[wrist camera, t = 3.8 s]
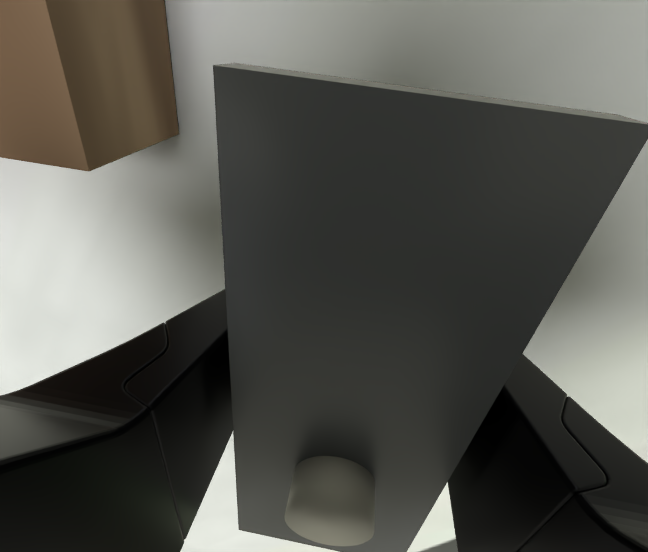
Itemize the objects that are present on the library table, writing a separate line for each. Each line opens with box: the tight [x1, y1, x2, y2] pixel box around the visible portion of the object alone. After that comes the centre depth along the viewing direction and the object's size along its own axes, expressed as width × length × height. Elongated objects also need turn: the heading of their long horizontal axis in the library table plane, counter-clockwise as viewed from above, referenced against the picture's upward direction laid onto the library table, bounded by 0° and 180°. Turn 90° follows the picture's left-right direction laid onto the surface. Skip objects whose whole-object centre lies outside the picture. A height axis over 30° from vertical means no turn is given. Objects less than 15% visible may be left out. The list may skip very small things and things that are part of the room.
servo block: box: [213, 63, 648, 552], centre depth 8 cm, size 4×10×6 cm, turn 174°
